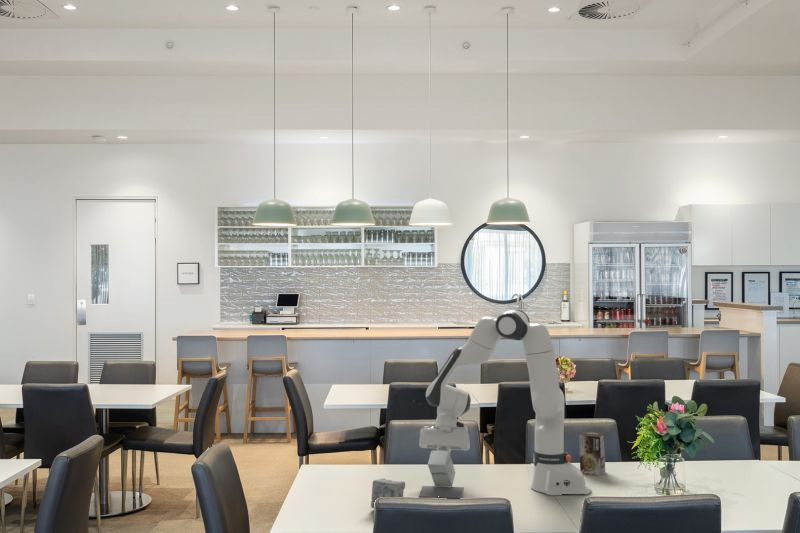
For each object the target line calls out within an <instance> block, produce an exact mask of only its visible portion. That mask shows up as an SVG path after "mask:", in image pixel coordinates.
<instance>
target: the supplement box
mask: <svg viewBox="0 0 800 533" xmlns="http://www.w3.org/2000/svg"><path fill="white" fill-rule="evenodd" d="M427 467H428V469H429V472H430V475H431V478H432V481H433V483H434V485H433V486H442V487H453V486H454V480H455V475H456V470H455V466H454V463H453V460H452V457H451V452H450V453H449V451H447V450H441V451H437V450H431V451H430V454H429V458H428V462H427Z"/></svg>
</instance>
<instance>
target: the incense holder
mask: <svg viewBox="0 0 800 533" xmlns="http://www.w3.org/2000/svg"><path fill="white" fill-rule="evenodd" d="M371 487H372V488H371V501H370V503H371V504H370V507H371V508H372V509H375V508H374V502H375V500H376V499H377V498H380V497H403V498H404V490H405V488H406V482H405V481H402V480H401V481H397V480H396V481H395V480H391V479H390V480H389V479H386V478H382V477H381V478H379V479H378V478H377V479H373V480H372V486H371Z"/></svg>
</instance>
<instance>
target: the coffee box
mask: <svg viewBox="0 0 800 533" xmlns="http://www.w3.org/2000/svg"><path fill="white" fill-rule="evenodd" d="M578 437H579V439H578V440H579V470H580V471H581V472H582V473H583V474H585V473H589V474H588V475H592V474H595V475H594V476H603V475H604V474H605V473H606V445H605V444H606V441H605V440H606V439H605V433H601V432H600V433H599V432H591V431H590V432H589V431H583V432H581V433H580V434H579V435H578Z"/></svg>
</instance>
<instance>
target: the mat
mask: <svg viewBox="0 0 800 533" xmlns="http://www.w3.org/2000/svg"><path fill="white" fill-rule="evenodd" d="M463 493H464V486H435V485H422V487H421V489H420V490H419V494H418V498H427V497H438V496H439V497H442V498H441V499H454V498H462V499H463Z"/></svg>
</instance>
